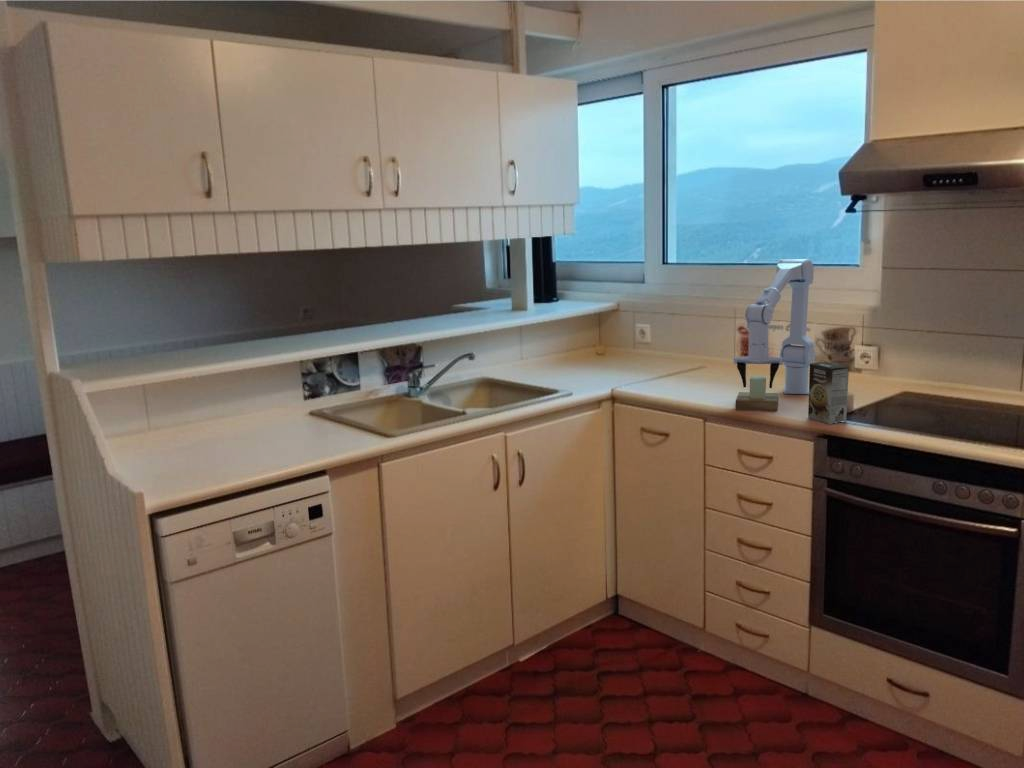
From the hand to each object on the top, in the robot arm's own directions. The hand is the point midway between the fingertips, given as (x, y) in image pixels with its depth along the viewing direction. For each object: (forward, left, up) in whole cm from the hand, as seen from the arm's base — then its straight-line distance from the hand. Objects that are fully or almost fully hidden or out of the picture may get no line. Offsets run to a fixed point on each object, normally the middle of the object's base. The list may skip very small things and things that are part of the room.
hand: (757, 387), depth 252 cm
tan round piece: (+1, +25, -6) cm, 26 cm away
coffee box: (+14, +20, -6) cm, 25 cm away
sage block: (0, 0, -3) cm, 3 cm away
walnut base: (0, 0, -6) cm, 6 cm away
